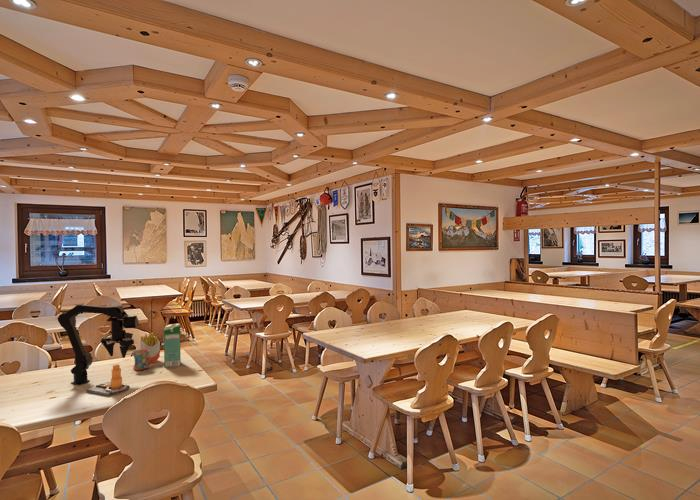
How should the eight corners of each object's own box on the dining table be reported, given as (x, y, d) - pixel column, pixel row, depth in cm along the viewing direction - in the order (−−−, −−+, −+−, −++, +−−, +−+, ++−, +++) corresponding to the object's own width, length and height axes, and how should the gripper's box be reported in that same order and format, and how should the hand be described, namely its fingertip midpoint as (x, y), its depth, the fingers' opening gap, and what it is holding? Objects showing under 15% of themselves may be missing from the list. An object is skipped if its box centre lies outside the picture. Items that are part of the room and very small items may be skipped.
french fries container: (160, 360, 265) (159, 332, 265) (145, 365, 255) (145, 336, 255) (155, 359, 267) (154, 332, 267) (140, 364, 257) (140, 335, 257)
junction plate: (86, 392, 209) (86, 387, 209) (107, 384, 220) (107, 379, 220) (112, 397, 202) (112, 392, 202) (133, 389, 214) (133, 384, 214)
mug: (128, 370, 245) (128, 352, 245) (141, 365, 254) (140, 348, 253) (144, 372, 241) (144, 354, 241) (156, 367, 250) (156, 350, 250)
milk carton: (164, 363, 258) (163, 324, 257) (179, 361, 262) (179, 322, 261) (164, 367, 250) (163, 326, 249) (180, 365, 254) (180, 325, 253)
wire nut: (110, 388, 210) (109, 365, 210) (121, 386, 213) (120, 363, 213) (111, 391, 206) (111, 367, 206) (122, 389, 209) (122, 365, 209)
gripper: (142, 327, 231) (142, 354, 231) (118, 324, 238) (118, 351, 238) (124, 331, 220) (125, 360, 221) (100, 328, 227) (100, 356, 228)
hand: (117, 356), depth 227 cm, fingers open, 9 cm apart
